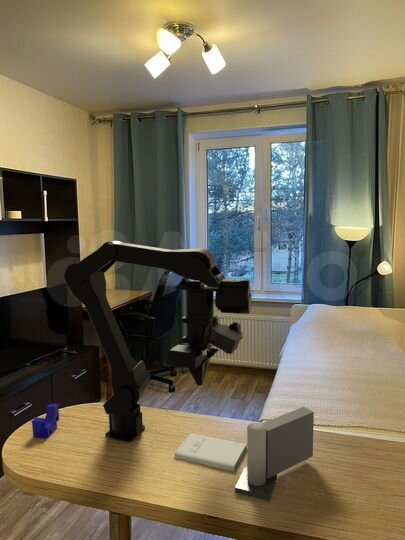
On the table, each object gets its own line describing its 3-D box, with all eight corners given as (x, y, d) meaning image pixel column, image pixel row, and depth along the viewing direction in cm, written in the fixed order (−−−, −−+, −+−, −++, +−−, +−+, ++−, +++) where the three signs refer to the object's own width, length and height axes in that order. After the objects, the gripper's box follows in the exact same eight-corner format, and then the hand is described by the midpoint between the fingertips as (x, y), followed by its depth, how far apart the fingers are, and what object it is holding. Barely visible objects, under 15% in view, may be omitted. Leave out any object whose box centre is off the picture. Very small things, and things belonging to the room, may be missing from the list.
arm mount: (234, 492, 70) (234, 487, 70) (244, 472, 76) (244, 467, 76) (269, 501, 68) (269, 496, 68) (277, 479, 73) (277, 474, 73)
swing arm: (243, 478, 72) (243, 426, 71) (301, 450, 80) (302, 403, 79) (255, 488, 69) (255, 434, 68) (314, 458, 77) (315, 410, 76)
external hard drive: (234, 474, 76) (174, 459, 81) (246, 450, 84) (191, 438, 88) (234, 466, 76) (174, 452, 81) (246, 443, 83) (191, 431, 88)
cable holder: (48, 438, 88) (47, 421, 88) (33, 438, 89) (31, 420, 88) (65, 420, 96) (64, 404, 96) (51, 419, 97) (50, 403, 96)
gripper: (219, 328, 71) (219, 412, 73) (251, 305, 88) (250, 374, 90) (163, 321, 75) (165, 401, 78) (204, 300, 92) (204, 367, 94)
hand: (200, 384), depth 85 cm, fingers closed
